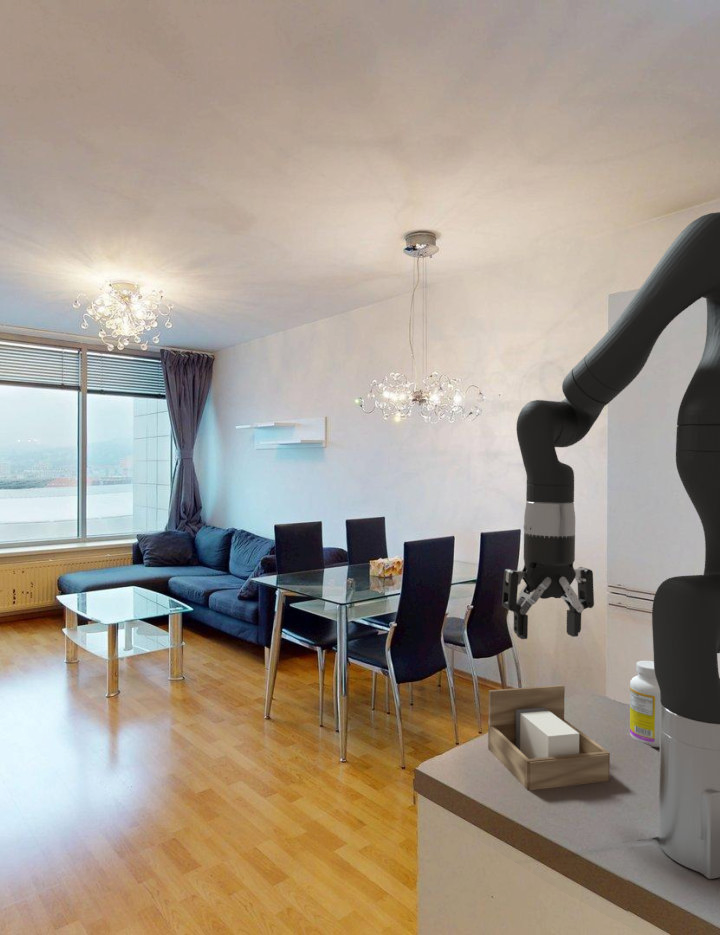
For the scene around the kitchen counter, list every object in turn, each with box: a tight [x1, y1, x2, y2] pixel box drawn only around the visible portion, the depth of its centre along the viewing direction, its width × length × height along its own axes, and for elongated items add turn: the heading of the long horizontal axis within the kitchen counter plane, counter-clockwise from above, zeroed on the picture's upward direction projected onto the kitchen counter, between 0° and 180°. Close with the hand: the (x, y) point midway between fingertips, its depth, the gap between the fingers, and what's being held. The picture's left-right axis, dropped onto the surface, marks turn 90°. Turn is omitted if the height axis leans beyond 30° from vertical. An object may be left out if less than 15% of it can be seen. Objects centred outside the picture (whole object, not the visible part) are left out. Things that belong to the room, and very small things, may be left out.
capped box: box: [516, 707, 579, 759], centre depth 95 cm, size 10×5×6 cm, turn 13°
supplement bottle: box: [629, 660, 660, 748], centre depth 105 cm, size 7×7×13 cm
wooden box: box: [487, 684, 611, 791], centre depth 95 cm, size 13×13×10 cm
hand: (547, 636), depth 95 cm, fingers open, 8 cm apart
